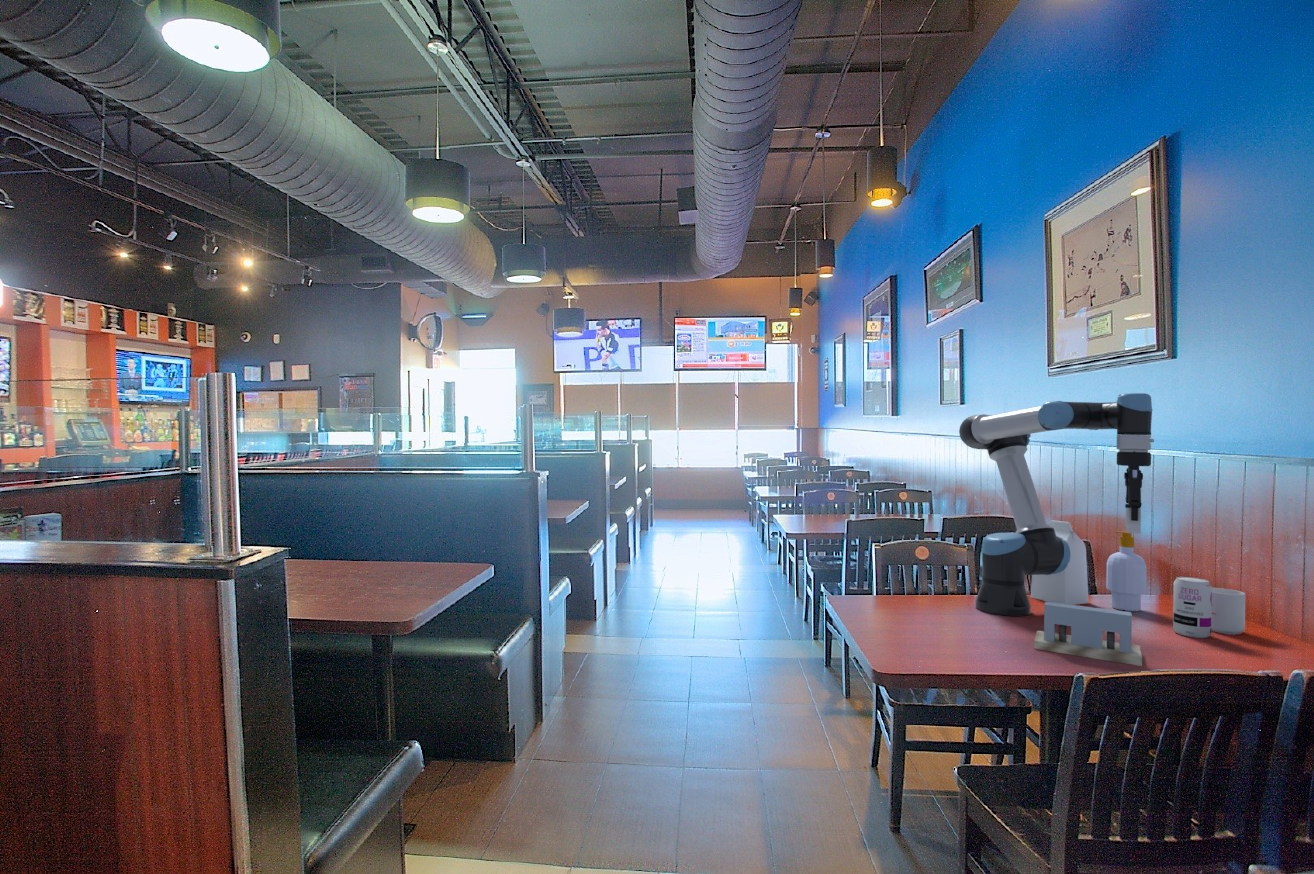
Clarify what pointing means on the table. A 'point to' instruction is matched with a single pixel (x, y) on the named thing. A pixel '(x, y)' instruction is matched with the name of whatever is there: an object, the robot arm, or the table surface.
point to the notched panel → (1088, 624)
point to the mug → (1227, 611)
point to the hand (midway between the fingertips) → (1132, 530)
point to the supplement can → (1192, 607)
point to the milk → (1065, 572)
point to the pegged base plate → (1089, 648)
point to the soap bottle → (1126, 576)
